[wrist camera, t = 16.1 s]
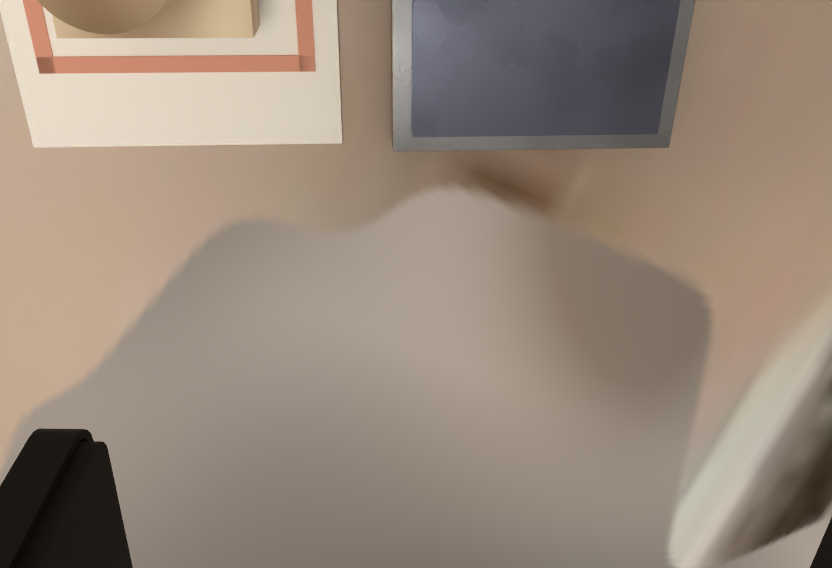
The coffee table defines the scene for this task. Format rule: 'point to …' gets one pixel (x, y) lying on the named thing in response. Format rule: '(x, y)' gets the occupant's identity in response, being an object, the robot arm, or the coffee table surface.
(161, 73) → the paper
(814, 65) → the coffee table surface
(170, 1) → the stamp
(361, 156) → the coffee table surface
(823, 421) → the coffee table surface
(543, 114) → the ink pad
